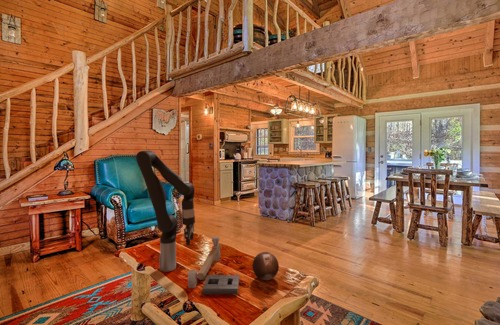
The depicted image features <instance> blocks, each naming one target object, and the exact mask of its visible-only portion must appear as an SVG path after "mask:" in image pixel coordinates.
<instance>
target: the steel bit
mask: <svg viewBox="0 0 500 325" xmlns="http://www.w3.org/2000/svg"><path fill="white" fill-rule="evenodd" d="M197 274H198V269H189V270H188V272H187V289H196V288H197V286H196V285H198V277H197Z"/></svg>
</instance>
